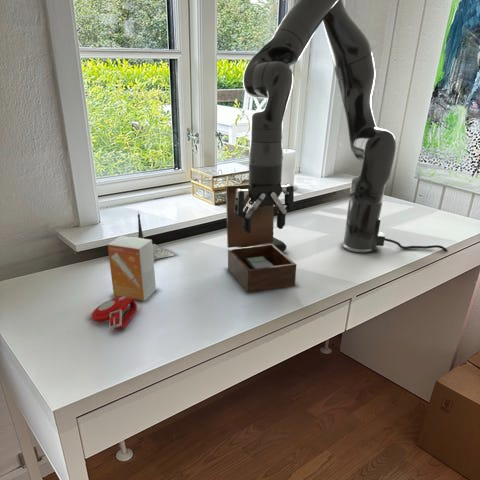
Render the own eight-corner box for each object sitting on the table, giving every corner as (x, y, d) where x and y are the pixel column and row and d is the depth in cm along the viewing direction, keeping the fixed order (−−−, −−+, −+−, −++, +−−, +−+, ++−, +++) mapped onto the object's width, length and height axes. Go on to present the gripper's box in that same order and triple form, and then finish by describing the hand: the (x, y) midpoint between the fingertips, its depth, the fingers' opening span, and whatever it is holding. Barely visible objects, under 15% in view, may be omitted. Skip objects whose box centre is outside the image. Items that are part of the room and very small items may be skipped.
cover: (274, 182, 118) (272, 182, 119) (226, 186, 114) (225, 185, 115) (273, 242, 125) (271, 241, 126) (228, 247, 121) (227, 247, 122)
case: (294, 285, 117) (296, 264, 114) (247, 293, 113) (248, 271, 110) (271, 263, 128) (272, 243, 126) (227, 269, 125) (227, 249, 122)
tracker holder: (80, 313, 101) (116, 288, 106) (90, 329, 103) (124, 304, 108) (110, 321, 92) (147, 293, 98) (120, 339, 95) (155, 311, 100)
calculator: (279, 280, 117) (280, 270, 116) (257, 284, 115) (257, 273, 114) (263, 265, 125) (264, 255, 124) (242, 268, 123) (243, 258, 122)
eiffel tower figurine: (154, 245, 139) (150, 200, 132) (175, 255, 133) (172, 208, 126) (109, 258, 130) (102, 210, 123) (128, 269, 124) (123, 220, 117)
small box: (113, 296, 110) (106, 244, 104) (126, 285, 115) (121, 234, 109) (144, 301, 108) (139, 248, 102) (156, 290, 113) (152, 238, 107)
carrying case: (230, 244, 141) (259, 260, 130) (230, 234, 139) (259, 250, 129) (259, 237, 146) (289, 252, 135) (259, 228, 144) (289, 242, 134)
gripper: (286, 155, 111) (283, 222, 119) (230, 160, 107) (230, 228, 115) (301, 162, 105) (297, 231, 113) (242, 167, 101) (241, 239, 109)
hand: (263, 230), depth 114 cm, fingers open, 8 cm apart
